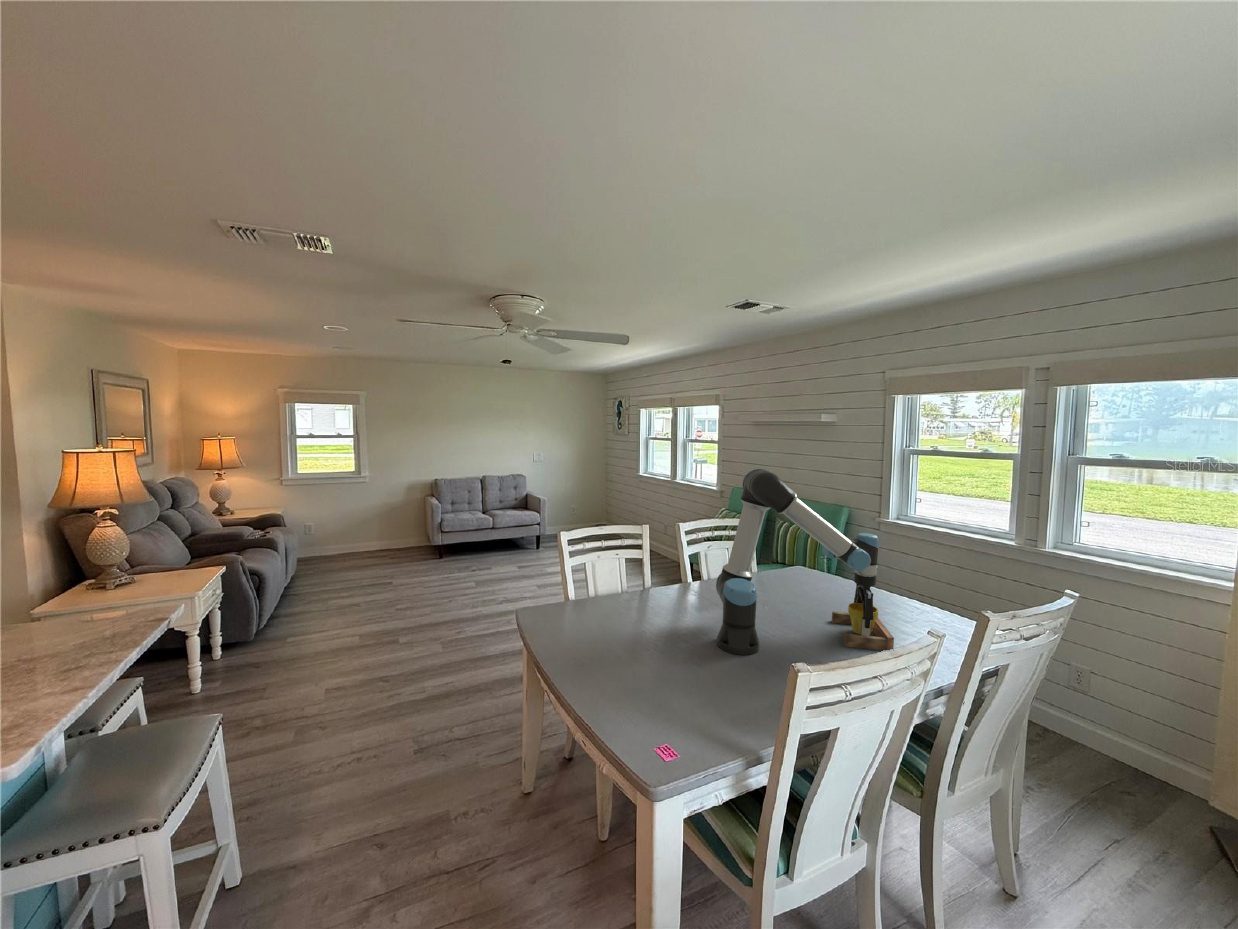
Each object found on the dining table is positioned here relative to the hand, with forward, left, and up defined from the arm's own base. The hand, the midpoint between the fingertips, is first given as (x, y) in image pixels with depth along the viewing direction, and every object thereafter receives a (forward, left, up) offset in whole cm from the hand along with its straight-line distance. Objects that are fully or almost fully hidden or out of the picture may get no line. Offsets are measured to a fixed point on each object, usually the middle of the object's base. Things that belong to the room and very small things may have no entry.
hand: (861, 629), depth 191 cm
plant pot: (0, 0, -1) cm, 1 cm away
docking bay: (-1, 0, -2) cm, 3 cm away
